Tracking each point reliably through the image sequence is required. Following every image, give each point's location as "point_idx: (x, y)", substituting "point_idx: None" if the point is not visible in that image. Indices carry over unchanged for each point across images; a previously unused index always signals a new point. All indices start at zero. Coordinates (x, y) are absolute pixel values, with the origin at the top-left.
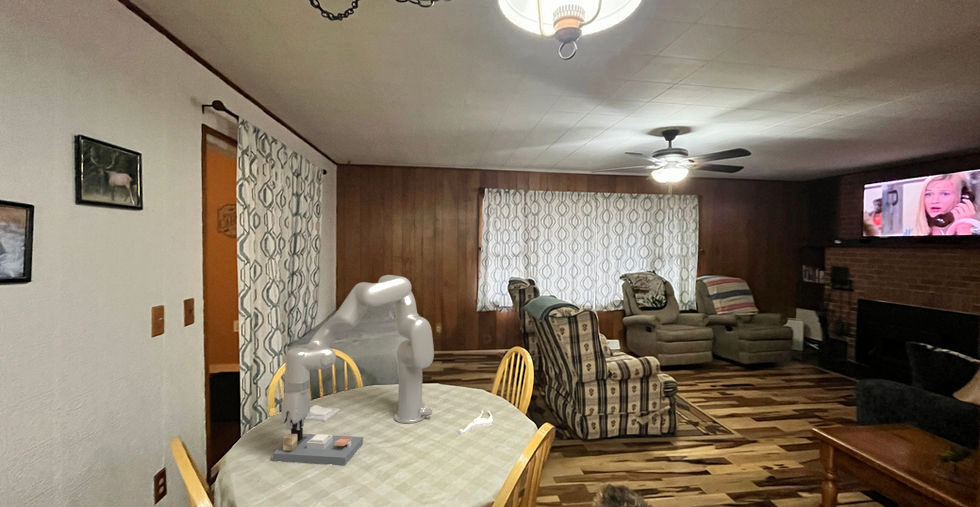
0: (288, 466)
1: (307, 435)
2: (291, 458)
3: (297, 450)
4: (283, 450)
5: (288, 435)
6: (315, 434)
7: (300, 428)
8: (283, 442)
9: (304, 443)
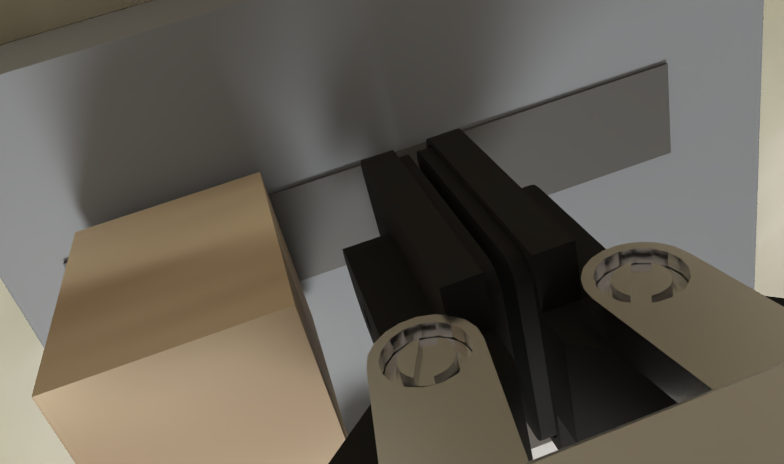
0: (2, 393)
1: (712, 105)
2: None
3: None
4: (106, 198)
5: (209, 387)
6: (755, 196)
7: (557, 420)
8: (53, 327)
9: None
